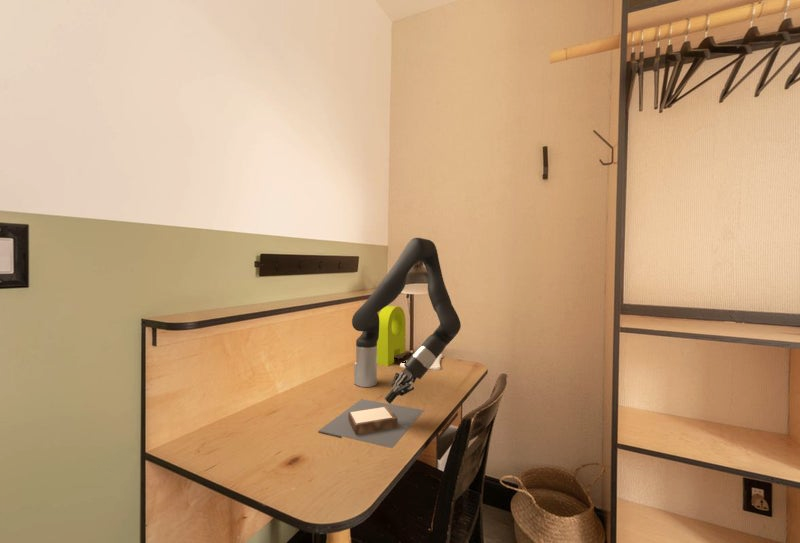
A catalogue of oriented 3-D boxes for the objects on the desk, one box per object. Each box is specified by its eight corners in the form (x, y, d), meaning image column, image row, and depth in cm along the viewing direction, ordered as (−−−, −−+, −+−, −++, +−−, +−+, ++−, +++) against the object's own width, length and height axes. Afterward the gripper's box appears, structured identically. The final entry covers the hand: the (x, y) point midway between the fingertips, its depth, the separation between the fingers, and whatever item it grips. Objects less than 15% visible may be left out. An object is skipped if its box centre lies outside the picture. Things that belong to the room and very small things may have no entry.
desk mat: (318, 432, 112) (318, 430, 111) (361, 400, 137) (361, 398, 137) (392, 449, 101) (392, 447, 101) (424, 411, 127) (424, 410, 127)
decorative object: (387, 366, 182) (387, 308, 181) (376, 364, 185) (376, 308, 184) (405, 356, 200) (405, 304, 199) (395, 355, 203) (395, 303, 202)
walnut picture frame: (397, 427, 114) (355, 434, 109) (387, 414, 123) (348, 420, 118) (397, 417, 114) (355, 424, 109) (387, 405, 123) (348, 411, 118)
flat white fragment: (439, 374, 175) (444, 358, 200) (440, 367, 175) (444, 352, 199) (398, 369, 180) (408, 354, 204) (399, 362, 180) (408, 349, 204)
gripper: (406, 350, 127) (373, 388, 123) (421, 360, 115) (385, 402, 111) (419, 363, 129) (388, 400, 125) (435, 374, 117) (401, 416, 113)
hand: (387, 401), depth 118 cm, fingers closed
